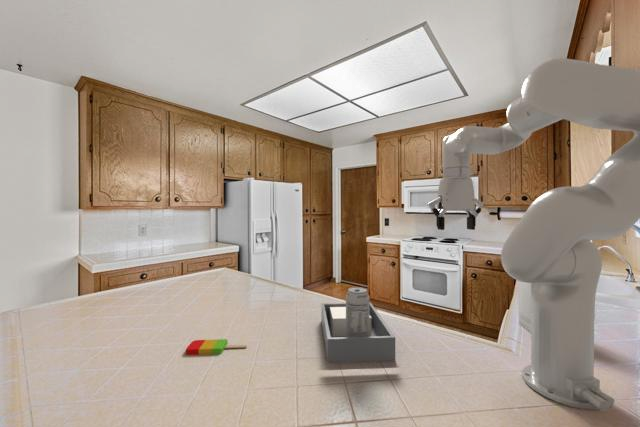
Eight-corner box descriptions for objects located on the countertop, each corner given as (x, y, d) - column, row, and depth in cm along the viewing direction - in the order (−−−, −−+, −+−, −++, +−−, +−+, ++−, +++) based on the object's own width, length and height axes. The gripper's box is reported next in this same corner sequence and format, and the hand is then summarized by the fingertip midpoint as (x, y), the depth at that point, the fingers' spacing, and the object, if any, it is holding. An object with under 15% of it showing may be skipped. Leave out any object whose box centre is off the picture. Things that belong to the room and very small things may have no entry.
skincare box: (557, 336, 78) (557, 282, 77) (530, 334, 79) (531, 281, 79) (539, 324, 86) (540, 275, 86) (516, 322, 87) (516, 274, 87)
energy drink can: (371, 344, 71) (371, 287, 71) (367, 355, 66) (367, 294, 66) (348, 340, 74) (348, 285, 73) (343, 351, 68) (343, 291, 68)
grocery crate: (395, 364, 64) (395, 337, 64) (327, 367, 63) (327, 339, 63) (370, 322, 88) (370, 302, 88) (321, 323, 87) (321, 303, 87)
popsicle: (192, 346, 74) (192, 339, 74) (248, 344, 75) (248, 337, 75) (184, 357, 68) (183, 350, 68) (244, 355, 69) (244, 347, 69)
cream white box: (371, 335, 76) (371, 317, 76) (332, 336, 76) (332, 318, 76) (364, 322, 85) (364, 306, 85) (329, 323, 85) (329, 307, 85)
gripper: (475, 176, 89) (475, 228, 89) (423, 176, 88) (423, 228, 88) (491, 173, 81) (490, 230, 81) (434, 173, 80) (434, 230, 80)
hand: (455, 229), depth 85 cm, fingers open, 9 cm apart
